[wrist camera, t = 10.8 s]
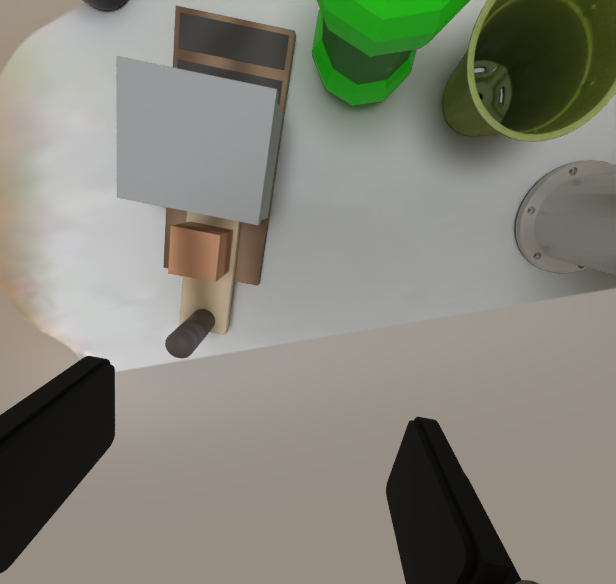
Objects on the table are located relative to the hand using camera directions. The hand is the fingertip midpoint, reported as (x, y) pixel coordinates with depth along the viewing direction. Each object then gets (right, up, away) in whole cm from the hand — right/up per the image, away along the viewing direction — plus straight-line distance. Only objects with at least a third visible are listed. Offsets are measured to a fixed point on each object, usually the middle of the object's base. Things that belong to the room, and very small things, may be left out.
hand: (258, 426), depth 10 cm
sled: (-10, +10, +27) cm, 31 cm away
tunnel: (-8, +19, +25) cm, 32 cm away
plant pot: (+20, +25, +23) cm, 39 cm away
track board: (-8, +19, +26) cm, 33 cm away
